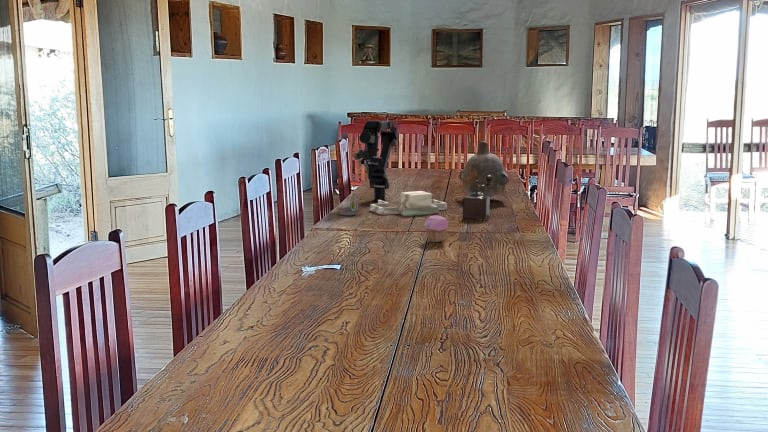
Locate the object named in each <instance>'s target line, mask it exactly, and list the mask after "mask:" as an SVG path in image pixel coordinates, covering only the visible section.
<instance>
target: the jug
mask: <svg viewBox="0 0 768 432" xmlns="http://www.w3.org/2000/svg"><path fill="white" fill-rule="evenodd" d="M477 146H478V147H477V151H476V153H475V154H473V155H471V156H470V157H469V159H468V160H467V161H466V163H465V166H464V169H463V170H461V171H460V172H459V176H458V177H459V180H460V181H461V182H462V189H463V191H464V192H465V193H467V194H468V195H470V194H471V193H474V192H475V191H476V185H475V183H476V182H475V181H476V180H478V185H485V184H486V180H485V177H486V176H488V175H490V176H492V177H493V178H494V179H493V181H492V183H491V184H492V186H489V187H488V186H486V187H478V192H481V193H483V194H484V195H487V196H490V198H491V197H494V196H497V195H500V194H503V193H504V192H505V190H506V186H507V185H508V184H509V182H510V177H509V175H508V174H507V173H506V171H505V167H504V165H503V162H502V160H501V158H499V157H498V156H497V155H496V154H494V153H491V151H490V149H489V142H487V141H484V140H481V141H480V142H479V144H478V145H477ZM484 192H485V193H484Z"/></svg>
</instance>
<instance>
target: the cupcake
mask: <svg viewBox="0 0 768 432" xmlns="http://www.w3.org/2000/svg"><path fill="white" fill-rule="evenodd" d="M424 228H425V229H426V235H427V236H426V238H427V240H428V242H430V241H431V242H430V243H440V242H443V241H444V238H445V233H446V232H447V229H448V228H449V222H448V220H447V218H445V217H443V216H441V215H437V214H435V215H431V216H428V218H426V220H425V222H424Z"/></svg>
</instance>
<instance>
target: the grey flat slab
mask: <svg viewBox="0 0 768 432" xmlns="http://www.w3.org/2000/svg"><path fill="white" fill-rule="evenodd" d="M369 208H370V209H369V211H371V212H373V213H377V214H378V215H382V216H384V215H385V216H386V215H397V214H399V215H401V216H405V217H408V216H420V215H422V216H423V215H432V214H439V212H440V211H445V210H446V211H447V209H448V203H447V202H444V201H440V200H437V199H432V207H422V208H410V209H406V208H403V207H401V205H400V206H391V207H390V202H387V201H382V200H378V201H377V203H370V205H369Z"/></svg>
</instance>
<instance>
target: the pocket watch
mask: <svg viewBox="0 0 768 432" xmlns="http://www.w3.org/2000/svg"><path fill="white" fill-rule="evenodd" d="M355 196H357V193H356V192H355V191H354V192H353V193H352V197H351V198H350V202H349V206H350V210H351V211H350V210H348V211H344V210H343V211H340V212H339V215H340V216H345V217H347V216H353V215H355V213H357V212H358V210H359V202H358V199H357V198H356V197H355Z"/></svg>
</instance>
